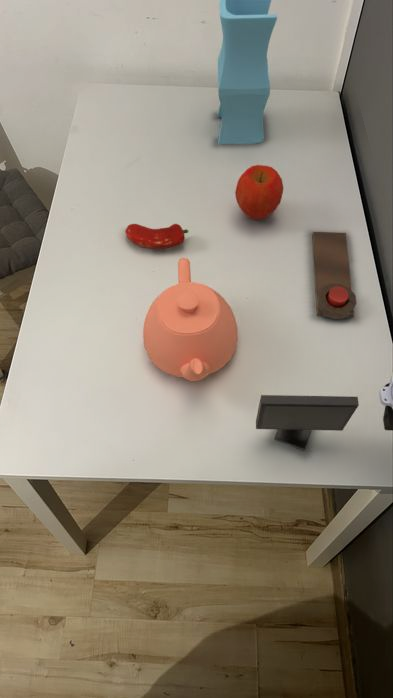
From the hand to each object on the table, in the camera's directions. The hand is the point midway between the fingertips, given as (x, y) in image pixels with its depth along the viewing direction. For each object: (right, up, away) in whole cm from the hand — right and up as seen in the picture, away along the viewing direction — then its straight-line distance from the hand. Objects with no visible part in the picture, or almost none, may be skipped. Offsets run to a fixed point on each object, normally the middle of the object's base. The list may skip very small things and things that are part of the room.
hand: (391, 425), depth 63 cm
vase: (-15, +57, +45) cm, 75 cm away
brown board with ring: (-1, +23, +25) cm, 34 cm away
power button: (-1, +18, +20) cm, 27 cm away
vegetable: (-32, +29, +30) cm, 53 cm away
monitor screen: (-10, -1, +6) cm, 12 cm away
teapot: (-26, +10, +19) cm, 33 cm away
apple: (-13, +35, +32) cm, 49 cm away
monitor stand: (-10, -3, +10) cm, 15 cm away
